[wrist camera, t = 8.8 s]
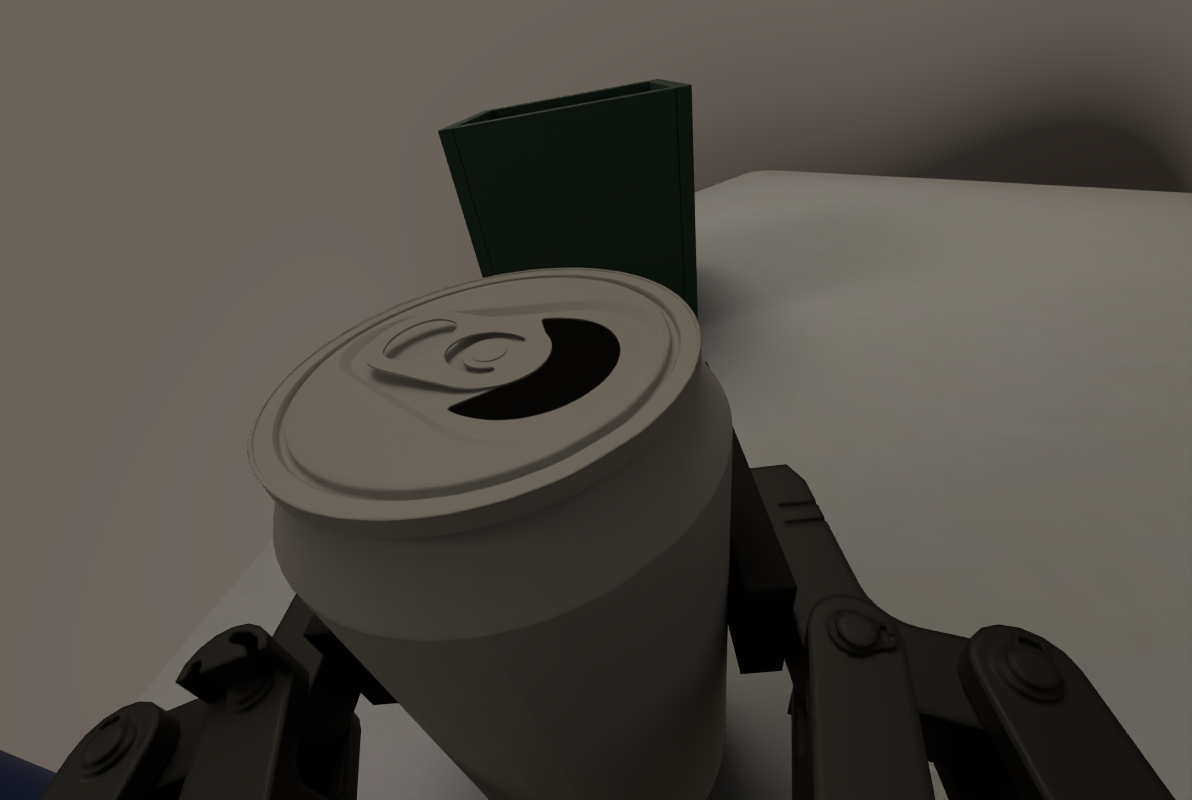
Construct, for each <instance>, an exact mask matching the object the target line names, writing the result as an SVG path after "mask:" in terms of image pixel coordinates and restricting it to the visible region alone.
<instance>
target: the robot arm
mask: <svg viewBox="0 0 1192 800" xmlns="http://www.w3.org/2000/svg"><path fill="white" fill-rule="evenodd" d="M705 364H706V365H707V366H708V364H707V362H705ZM708 367H709V366H708ZM728 626H729V630H730V634H731V638H732V642H733V646H734V650H735V654H736V658H737V662H738V666H739V670H740V674H748V673H760V672H772V671H782V668H783V663H784V658H785V661H786V664H787V667H788V670H789V673H790V676H791V679H792V682H793V689H792V694H791V698H790V703H789V708H788V713H787V714H790V715H791V719H792V800H935V795H934V790H933V785H932V780H931V775H930V769H929V764H928V761H929V762H933V763H934V766H935V768H936V770H937V773H938V775H939V778H940V780H941V782H942V785H943V787H944V790H945V792H946V794H947V797H948V799H949V800H1175V799H1174V797H1173V796H1172V794H1171V793H1170V792H1169V790H1168V789H1167V787H1166V786H1165V785H1164V783H1163V782H1162V781H1161V779H1160V778H1159V776H1158V775H1157V774H1156V772H1155V771H1154V769H1153V768H1152V767H1151V765H1150V764H1149V763H1148V761H1147V760H1146V758H1145V757H1144V756H1143V754H1142V753H1141V752H1140V750H1139V749H1138V747H1137V746H1136V745H1135V743H1134V742H1133V740H1132V739H1131V738H1130V736H1129V735H1128V734H1127V732H1126V731H1125V729H1124V728H1123V727H1122V725H1121V724H1120V723H1119V721H1118V720H1117V718H1116V717H1115V716H1114V714H1113V713H1112V711H1111V710H1110V709H1109V707H1108V706H1107V705H1106V703H1105V702H1104V700H1103V699H1102V698H1101V696H1100V695H1099V693H1098V692H1097V691H1096V689H1095V688H1094V687H1093V685H1092V684H1091V682H1090V681H1089V680H1088V678H1087V677H1086V676H1085V674H1084V673H1083V672H1082V671H1081V669H1080V668H1079V667H1078V666H1077V665H1076V664H1075V663H1074V662H1073V661H1072V660H1071V659H1070V658H1069V657H1068V656H1067V654H1066V653H1064V652H1063V651H1062V650H1060V649H1059V648H1057V647H1056V646H1054V645H1053V644H1051V643H1050V642H1049V641H1047V640H1046V639H1044V638H1043V637H1040V636H1038V635H1036V634H1033V633H1031V632H1028V631H1026V630H1024V629H1021V628H1018V627H1011V626H1005V625H993V626H988V627H983V628H981V629H980V630H979V631H978V632H976V633H975V634H974V635H973V636H972V637H971V638H966V637H961V636H957V635H952V634H947V633H943V632H938V631H933V630H928V629H924V628H920V627H916V626H913V625H910V624H907V623H904V622H902V621H900V620H898V619H896V618H894V617H892V616H890V615H889V614H887V613H886V612H885V611H883V610H882V609H880V608H879V607H878V606H877V605H876V604H875V603H874V602H873V601H872V600H871V599H870V598H869V597H868V596H867V595H866V594H865V592H864V591H863V589H862V588H861V586H860V585H859V583H858V581H857V579H856V577H855V575H854V573H853V571H852V569H851V567H850V565H849V564H848V562H847V560H846V558H845V556H844V554H843V552H842V550H841V548H840V546H839V544H838V543H837V541H836V539H835V537H834V535H833V533H832V531H831V529H830V527H829V525H828V523H827V522H825V520H824V516H823V514H822V512H821V510H820V508H819V506H818V505H816V502H815V499H814V497H813V495H812V493H811V491H810V489H809V487H808V485H807V483H806V481H805V480H804V479H803V478H802V477H800V476H799V475H798V474H797V473H796V472H795V471H793V470H792V469H791V468H790V467H789V466H788V465H786V464H785V465H776V466H767V467H759V468H749V466H748V463H747V461H746V458H745V456H744V453H743V451H742V448H741V446H740V443H739V441H738V438H737V436H736V433H735V431H734V428H733V442H732V480H731V518H730V556H729V594H728ZM176 683H177V684H179V685H180V686H182V687H183V688H185V689H186V690H188V691H189V692H191V693H192V694H194V695H195V696H197V697H198V699H195V700H193V701H191V702H188V703H186V704H183V705H181V706H178V707H176V708H174V709H171V710H169V711H165V710H164V709H162V708H161V707H159V706H157V705H156V704H154V703H152V702H136V703H134V704H131V705H128V706H125V707H123V708H121V709H119V710H118V711H116V712H114V713H113V714H111V715H110V716H108V717H106V718H105V719H103V720H102V721H101V722H100V723H99V724H98V725H97V726H96V727H94V728H93V729H92V730H91V731H90V732H89V733H88V734H86V735H85V736H84V738H83V739H82V740H81V741H80V742H79V744H78V745H77V746H76V747H75V748H74V750H73V751H72V752H71V753H70V754H69V756H68V757H67V759H66V760H65V762H64V763H63V765H62V766H61V768H60V769H59V770H58V772H57V773H56V775H55V776H54V778H53V779H52V781H51V782H50V783H49V785H48V786H47V788H46V789H45V791H44V792H43V794H42V795H41V797H40V798H39V799H38V800H357V785H358V769H359V754H360V738H361V727H360V720H359V718H358V717H357V715H356V714H355V713H354V710H355V707H356V704H357V701H358V699H359V696H360V693H362V694H363V695H364V696H365V697H366V698H367V699H368V700H369V701H370V702H371V703H372V704H373V705H380V704H392V703H398V702H397V701H396V700H395V699H394V697H393V696H392V695H391V694H390V693H389V692H388V691H387V690H386V689H385V688H384V687H383V686H382V685H381V684H380V682H379V681H378V680H377V679H376V678H375V677H374V676H373V675H372V674H371V673H370V672H369V671H368V670H367V669H366V668H365V666H364V665H363V664H362V663H361V662H360V661H359V660H358V659H357V658H356V657H355V656H354V655H353V654H352V653H351V651H350V650H349V649H348V648H347V647H346V646H345V645H344V644H343V643H342V642H341V641H340V640H339V639H338V638H337V636H336V635H335V634H334V633H333V632H332V631H331V630H330V629H329V628H328V627H327V626H326V625H325V624H324V623H323V622H322V620H321V619H320V618H319V617H318V616H317V615H316V614H315V613H314V612H313V611H312V610H311V609H310V608H309V607H308V605H307V604H306V603H305V602H304V601H303V600H302V599H301V598H300V597H299V596H298V594H297V593H296V595H295V597H294V599H293V600H292V602H291V604H290V606H289V608H288V609H287V611H286V613H285V615H284V617H283V619H282V620H281V622H280V624H279V626H278V628H277V629H276V631H275V633H274V635H273V637H271V636H270V635H269V634H268V633H267V632H266V631H265V630H264V629H263V628H262V627H260V626H257V625H253V624H244V625H240V626H235V627H232V628H230V629H228V630H226V631H224V632H222V633H220V634H218V635H216V636H215V637H214V638H213V639H211V640H210V641H209V642H207V643H206V644H205V645H204V646H202V647H201V648H200V649H199V650H198V651H197V652H196V653H195V654H194V655H193V656H192V658H191V659H190V660H189V661H188V662H187V663H186V664H185V666H184V667H183V669H182V671H181V673H180V675H179V676H178V678H177V680H176Z"/></svg>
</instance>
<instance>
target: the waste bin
mask: <svg viewBox="0 0 1192 800" xmlns="http://www.w3.org/2000/svg"><path fill="white" fill-rule="evenodd" d="M691 87H692V86H691V85H690V84H684V83H678V82H672V81H667V80H661V79H655V80H650V81H645V82H639V83H633V84H628V85H622V86H617V87H612V88H606V89H601V90H596V91H590V92H585V93H579V94H574V95H568V96H563V97H557V98H552V99H547V100H541V101H535V102H530V103H525V104H520V105H514V106H508V107H503V108H497V109H493V110H487V111H483V112H481V113H478V114H476V115H473V116H471V117H469V118H467V119H464V120H462V121H459V122H457V123H455V124H453V125H450V126H448V127H446V128H443V129H441V130H439V131H438V133H439V136H440V139H441V143H442V146H443V149H444V152H445V156H446V159H447V162H448V165H449V169H450V172H451V175H452V179H453V182H454V185H455V188H456V192H457V195H458V198H459V201H460V204H461V208H462V211H463V214H464V218H465V221H466V224H467V228H468V231H469V234H470V237H471V241H472V244H473V247H474V250H475V254H476V257H477V260H478V263H479V266H480V270H481V273H482V277H483V278H485V277H490V276H495V275H500V274H506V273H512V272H519V271H527V270H536V269H549V268H594V269H605V270H612V271H618V272H624V273H628V274H632V275H636V276H640V277H643V278H646V279H649V280H651V281H654V282H656V283H658V284H660V285H663V286H664V287H666V288H668V289H670V290H671V291H673V292H674V293H676V294H677V295H678V296H679V297H681V298H682V299H683V300H684V301H685V302H686V303H687V304H688V306H689V307H690V308H691V309H692V311H693V312H694V314H695V316H696V318H697V321H698V314H697V312H698V308H697V271H696V234H695V196H694V159H693V122H692V88H691Z"/></svg>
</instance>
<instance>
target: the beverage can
mask: <svg viewBox="0 0 1192 800" xmlns="http://www.w3.org/2000/svg"><path fill="white" fill-rule="evenodd" d="M732 442H733V426H732V416H731V409H730V405H729V402H728V400H727V397H726V395H725V392H724V390H723V388H722V386H721V384H720V382H719V381H718V379H717V378H716V377H715V375H714V374H713V372H712V371H711V370H710V368H709V367H708V366H707V365H706V364H705V362H704V361H703V360H702V355H701V330H700V326H699V323H698V321H697V318H696V316H695V314H694V312H693V311H692V309H691V308H690V307H689V306H688V304H687V303H686V302H685V301H684V300H683V299H682V298H681V297H679V296H678V295H677V294H676V293H674V292H673V291H671V290H670V289H668V288H666V287H664V286H663V285H660V284H658V283H656V282H654V281H651V280H649V279H646V278H643V277H640V276H636V275H632V274H628V273H624V272H618V271H612V270H605V269H594V268H549V269H536V270H527V271H519V272H512V273H506V274H500V275H495V276H490V277H485V278H481V279H477V280H472V281H468V282H464V283H461V284H457V285H453V286H450V287H446V288H443V289H440V290H437V291H433V292H430V293H428V294H425V295H422V296H419V297H416V298H414V299H411V300H409V301H406V302H403V303H401V304H399V305H396V306H394V307H391V308H389V309H387V310H385V311H382V312H381V313H378V314H376V315H374V316H372V317H370V318H368V319H366V320H364V321H362V322H360V323H358V324H357V325H355V326H353V327H351V328H349V329H348V330H346V331H344V332H342V333H341V334H339V335H338V336H336V337H334V338H333V339H331V340H330V341H328V342H327V343H325V344H324V345H322V346H321V347H319V348H318V349H316V350H315V351H314V352H312V353H311V354H310V355H309V356H307V357H306V358H305V359H304V360H302V361H301V362H300V363H299V364H298V365H296V366H295V367H294V368H293V369H292V370H291V371H290V372H289V373H288V374H287V375H286V376H285V377H284V378H283V379H282V380H281V381H280V382H279V383H278V384H277V385H276V386H275V388H274V389H273V390H272V392H271V393H270V394H269V395H268V396H267V398H266V399H265V401H264V402H263V404H262V406H261V407H260V409H259V411H258V412H257V414H256V417H255V418H254V421H253V424H252V426H251V429H250V433H249V438H248V458H249V463H250V466H251V468H252V471H253V473H254V475H255V476H256V478H257V479H258V480H259V482H260V483H261V485H262V486H263V487H264V488H265V489H266V491H267V492H268V493H269V495H270V496H271V497H272V498H273V499H274V501H275V509H274V519H273V541H274V548H275V552H276V557H277V560H278V563H279V565H280V568H281V570H282V573H283V575H284V576H285V578H286V579H287V581H288V583H289V584H290V586H291V587H292V589H293V590H294V591H295V592H296V593H297V594H298V596H299V597H300V598H301V599H302V600H303V601H304V602H305V603H306V604H307V605H308V607H309V608H310V609H311V610H312V611H313V612H314V613H315V614H316V615H317V616H318V617H319V618H320V619H321V620H322V622H323V623H324V624H325V625H326V626H327V627H328V628H329V629H330V630H331V631H332V632H333V633H334V634H335V635H336V636H337V638H338V639H339V640H340V641H341V642H342V643H343V644H344V645H345V646H346V647H347V648H348V649H349V650H350V651H351V653H352V654H353V655H354V656H355V657H356V658H357V659H358V660H359V661H360V662H361V663H362V664H363V665H364V666H365V668H366V669H367V670H368V671H369V672H370V673H371V674H372V675H373V676H374V677H375V678H376V679H377V680H378V681H379V682H380V684H381V685H382V686H383V687H384V688H385V689H386V690H387V691H388V692H389V693H390V694H391V695H392V696H393V697H394V699H395V700H396V701H397V702H398V703H399V704H400V705H401V706H402V707H403V708H404V709H405V710H406V711H407V712H408V713H409V715H410V716H411V717H412V718H413V719H414V720H415V721H416V722H417V723H418V724H419V725H420V726H421V727H422V728H423V730H424V731H425V732H426V733H427V734H428V735H429V736H430V737H431V738H432V739H433V740H434V741H435V742H436V743H437V745H438V746H439V747H440V748H441V749H442V750H443V751H444V752H445V753H446V754H447V755H448V756H449V757H450V758H451V759H452V761H453V762H454V763H455V764H456V765H457V766H458V767H459V768H460V769H461V770H462V771H463V772H464V773H465V774H466V776H467V777H468V778H469V779H470V780H471V781H472V782H473V783H474V784H475V785H476V786H477V787H478V788H479V789H480V791H481V792H482V793H483V794H484V795H485V796H486V797H487V798H488V799H489V800H707V798H708V796H709V794H710V792H711V789H712V787H713V785H714V782H715V780H716V777H717V774H718V770H719V767H720V763H721V758H722V753H723V746H724V736H725V707H726V669H727V631H728V594H729V556H730V518H731V480H732Z"/></svg>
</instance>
